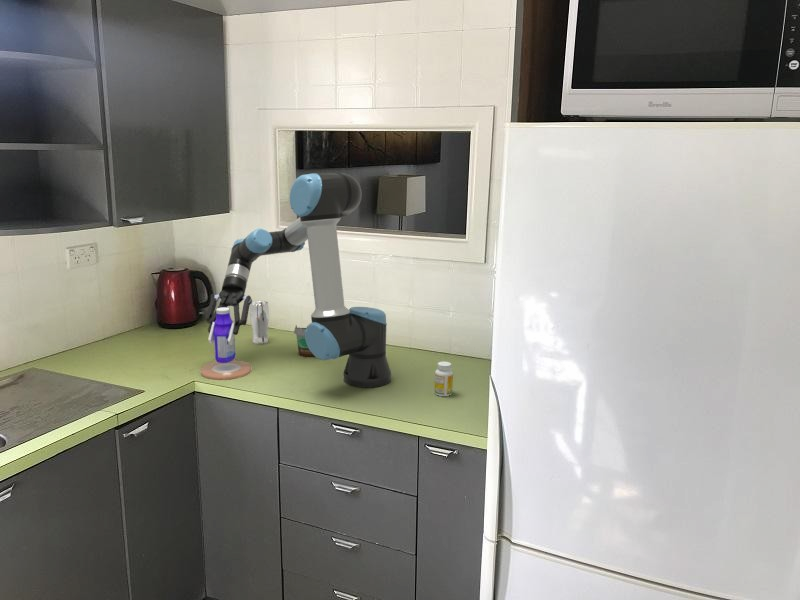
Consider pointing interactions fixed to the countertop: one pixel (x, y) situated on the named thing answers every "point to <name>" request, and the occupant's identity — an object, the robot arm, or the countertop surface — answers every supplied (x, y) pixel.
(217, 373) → the plate
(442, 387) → the supplement bottle
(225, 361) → the bottle
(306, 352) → the food container
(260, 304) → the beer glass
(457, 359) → the countertop surface
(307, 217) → the robot arm
